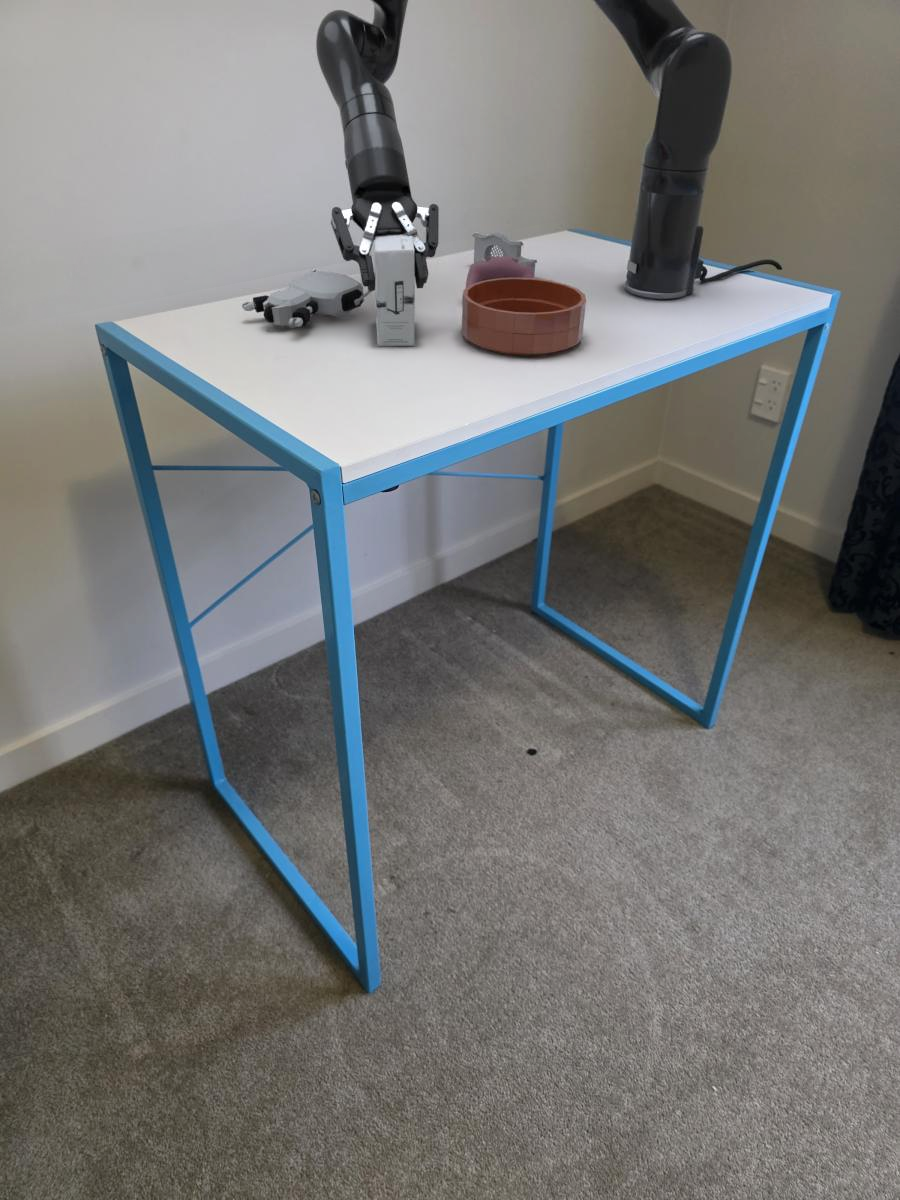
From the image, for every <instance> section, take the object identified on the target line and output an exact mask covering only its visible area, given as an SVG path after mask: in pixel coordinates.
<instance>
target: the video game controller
mask: <svg viewBox="0 0 900 1200" xmlns="http://www.w3.org/2000/svg"><path fill="white" fill-rule="evenodd" d="M497 278H535V274H534V273H533V270H532V268H531V267H530V266H529V265H528V264H527V263H525V262H524V261H521V260H517V259H514V258H511V257H501V256H500V257H499V256H498V255H497V256H496V255H495V257H490V258H486V259H479V260H477V262H475V263H474V262H473V264H471V266H470V267H469V269H468V273H467V276H466V281H465V289H466V288H467V287H468V286H470V285H472V284H474V283H477V282H480V281H485V280H491V279H497Z"/></svg>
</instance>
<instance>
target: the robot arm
mask: <svg viewBox="0 0 900 1200" xmlns="http://www.w3.org/2000/svg"><path fill="white" fill-rule="evenodd" d="M370 1H371V2H372V4H373V20H372V23H371V22H369V21H367V20H366V19H363V18H362V17H359V16H358V15H355V14H354V13H352V12H350V11H347V10H345V9H334V10H332V11H330V12H328V13H327V14H326V15H324V18H322V20H321V22H320V24H319V26H318V29H317V33H316V38H315V39H316V40H315V50H316V58H317V61H318V65H319V68H320V71H321V73H322V75H323V77H324V80H325V82H326V84H327V87H328V90H329V92H330V93H331V96H332V99H333V100H334V102H335V104H336V105H337V107H338V110H339V115H340V116H339V117H340V122H341V129H342V134H343V146H344V147H343V150H344V158H345V161H344V163H345V169H346V170H347V177H348V182H349V189H350V193H351V201H352V205H351V207H350V208H347V209H343V210H342V208H341V207H338V206H334V207H333V208H332V209H331V217H330V225H331V228H332V231H333V233H334V237H335V239H336V242H337V246H338V247H339V250H340V253H341V256H342V259H343V260H344V261H345V262H351V261H353V262H356V263H357V264H358V266H359V274H360V278H361V284H362V286H363V288H364V287H367V290H368V291H372V292H375V290H374V289H375V268H374V264H373V263H374V262H373V257H372V255H371V254H370V253H371V251H372V247H373V244H374V242H375V236H383V235H397V234H405V235H407V236H413V244H414V268H415V286H416V287H415V288H416V289H424V286H425V284H427V281H428V278H429V274H430V273H429V268H428V262H427V258H433V257H435V255H436V251H437V248H438V246H439V223H440V222H439V218H440V217H439V215H440V214H439V210H440V208H439V205H438V204H435V203H431V204H430V205H429V207H425V206H418V204H417V203H416V201H415V200H414V199H413V196H412V190H411V185H410V180H409V174H408V173H409V172H408V169H407V162H406V157H405V152H404V151H405V150H404V146H403V141H402V138H401V135H400V131H399V128H398V123H397V117H396V112H395V106H394V100H393V97H392V94H391V92H390V90H389V88H388V87H387V85H385V84H386V83H387V82H388V81H389V80H390V79H391V78H392V76H393V74H394V72H395V69H396V66H397V64H398V59H399V54H400V49H401V48H400V47H401V42H402V41H401V40H402V36H403V35H402V34H403V29H404V23H405V17H406V14H407V13H406V12H407V7H408V3H409V0H370ZM591 1H592V2H593V3H594V5H595V6H596V8H598V10H599V11H600V12H601V13H602V14H603V15H604V16H605V18H606V19H607V20H608V21H609V22H610V23H611V24H612V26H613V27H614V28H615V30H616V31H617V32H618V34H620V36H621V38H622V39H623V41H624V43H625V44H626V46H627V48H628V49H629V51H630V53H631V54H632V56H633V58H634V60H635V62H636V63H637V66H638V67H639V69H640V71H641V72H642V74H643V76H644V79H645V81H646V83H647V85H648V86H649V88H650V90H651V91H652V93H653V95H654V96H655V97H656V99H658V102H657V109H656V115H655V119H654V125H653V130H652V133H651V136H650V137H649V138H648V140H647V141H646V143H645V145H644V147H643V155H642V164H641V171H640V175H639V176H640V177H639V183H638V191H637V198H636V205H635V214H634V221H633V223H634V224H633V228H632V236H631V242H630V250H629V257H628V260H627V265H626V270H627V272H626V276H625V277H626V280H625V281H624V290H625V291H626V292H628V293H630V294H632V295H634V296H638V297H641V298H646V299H647V298H649V299H658V300H671V299H678V298H682V297H684V296H687V295H692V294H693V290H694V285H695V280H699V281H700V283H702V284H704V283H706V284H707V283H712V282H716V281H718V280H720V279H723V278H725V277H728V276H731V275H732V274H734V273H738V272H742V271H745V270H749V269H752V268H755V267H759V266H764V265H770V266H773V267H775V269H776V270H778V271H782V270H783V266H782V264H780V263H779V262H778V261H776V260H774V259H769V258H768V259H760V260H755V261H753V262H749V263H746V264H743V265H739V266H735V267H733V268H730V269H729V270H726V271H723V272H719V273H718V274H715V275H712V276H711V277H707V275H708V269H707V266H705V265H704V260H701V259H700V258H699V257H700V252H701V246H702V242H703V235H704V227H703V226H702V225H700V219H701V213H702V208H703V203H704V196H705V191H706V184H707V180H708V174H709V167H710V163H711V160H712V159H711V158H712V156H713V153H714V151H715V149H716V147H717V145H718V143H719V139H720V135H721V130H722V126H723V121H724V117H725V112H726V108H727V103H728V98H729V93H730V88H731V83H732V74H733V73H732V72H733V58H732V54H731V51H730V48H729V45H728V44H727V42H726V41H725V40H724V39H723V38H722V37H720V36H719V35H718V34H716V33H715V32H714V33H713V32H711V31H707V30H703V29H702V30H701V29H698V28H697V27H696V26H695V25H694V24H693V23H692V22H691V21H690V20H689V18H688V17H687V16H686V15H685V14H684V13H683V11H682V10H681V9H680V7H679V6H678V5H677V4H676V2H675V0H591ZM416 218H417V219H419V221H420V224H421V225H422V227H424V228H425V242H423V241H422V239H421V237H420V236H419V235H418V230H417V228H416V227H415V225H414V224H413V223H414V221H415V219H416ZM351 220H352V221H353V222H354V223H355V224H356V226H357V227H359V229H360V230H361V231H363V236H362V239H361V243H360V246H359V245H355V244H354V242H353V238H352V236H351V233H350V230H349V228H350V225H351ZM368 291H367V292H368Z"/></svg>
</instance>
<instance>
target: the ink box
mask: <svg viewBox="0 0 900 1200" xmlns="http://www.w3.org/2000/svg"><path fill="white" fill-rule="evenodd" d="M374 275H375V290H374V296H375V297H374V298H375V299H374V300H375V321H376V322H375V323H376V324H375V325H376V342H377V343H376V344H377V346H378V347H387V346H389V347H390V346H391V347H392V346H397V347H398V346H400V347H401V346H407V347H408V346H409V347H410V346H415V316H416V315H415V311H416V310H415V300H416V299H415V296H416V294H415V293H416V292H415V291H416V287H415V286H416V281H415V268H414V244H413V236H407V235H405V234H397V235H383V236H375V240H374Z"/></svg>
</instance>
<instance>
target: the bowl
mask: <svg viewBox="0 0 900 1200" xmlns="http://www.w3.org/2000/svg"><path fill="white" fill-rule="evenodd" d="M462 291H463V292H462V303H461V304H462V306H461V307H462V309H461V311H462V312H461V334H462V335H463V337H464V339H466V340H467V341H468V342H470V343H472V344H474V345H475V346H478V347H480V348H483V349H484V350H488V351H491V352H495V353H499V354H506V355H512V356H513V355H514V356H542V355H550V354H554V353H559V352H562V351H565V350H568V349H570V348H572V347H574V346H576V345H578V344H579V343H580V341H581V340H582V339H583V335H584V334H583V333H584V325H585V316H586V306H587V297H586V294H585V293H584V292H583V291H581V290H580V289H579V288H576V287H575V286H571V285H569V284H567V283H562V282H558V281H555V280H549V279H542V278H535V277H534V278H497V279H491V280H485V281H480V282H477V283H474V284H472V285H470V286H468V287H467V288H466V287H465V288H464V289H463V290H462Z"/></svg>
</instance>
